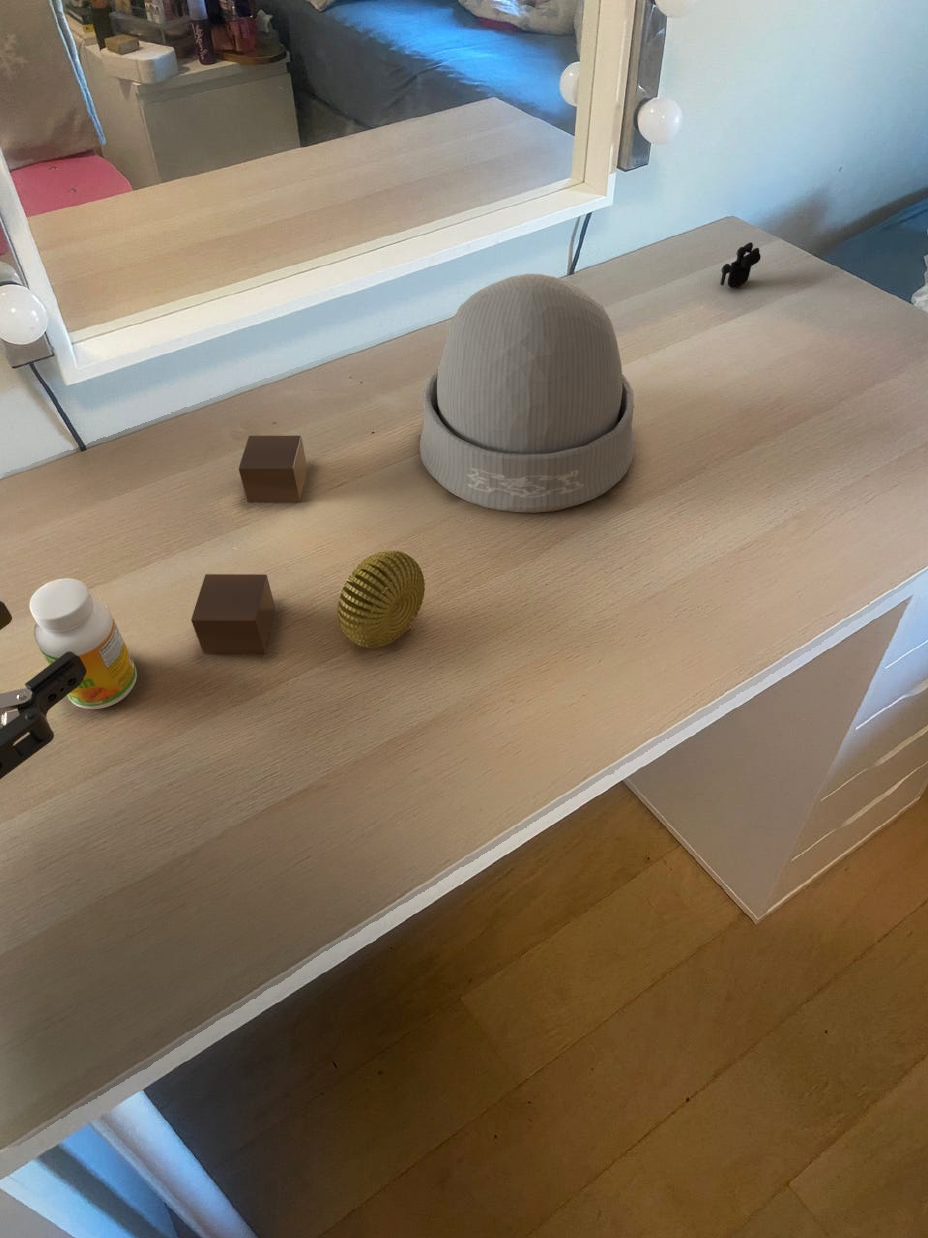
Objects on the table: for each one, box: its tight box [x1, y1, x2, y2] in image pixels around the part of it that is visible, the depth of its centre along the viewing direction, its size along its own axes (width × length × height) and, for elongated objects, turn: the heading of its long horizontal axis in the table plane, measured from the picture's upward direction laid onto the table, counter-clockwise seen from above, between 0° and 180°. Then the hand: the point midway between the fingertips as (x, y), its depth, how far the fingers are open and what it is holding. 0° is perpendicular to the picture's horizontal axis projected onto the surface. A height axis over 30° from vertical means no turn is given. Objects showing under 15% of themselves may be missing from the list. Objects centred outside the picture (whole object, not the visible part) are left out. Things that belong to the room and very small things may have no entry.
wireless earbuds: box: [719, 241, 762, 289], centre depth 107 cm, size 7×2×5 cm, turn 132°
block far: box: [238, 435, 308, 503], centre depth 84 cm, size 5×5×4 cm
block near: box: [190, 573, 276, 655], centre depth 71 cm, size 5×5×4 cm
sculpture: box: [337, 550, 426, 649], centre depth 69 cm, size 8×4×8 cm, turn 140°
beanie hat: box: [419, 273, 636, 514], centre depth 83 cm, size 21×21×20 cm
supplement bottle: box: [29, 577, 138, 710], centre depth 66 cm, size 5×5×10 cm
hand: (41, 633), depth 63 cm, fingers open, 8 cm apart
